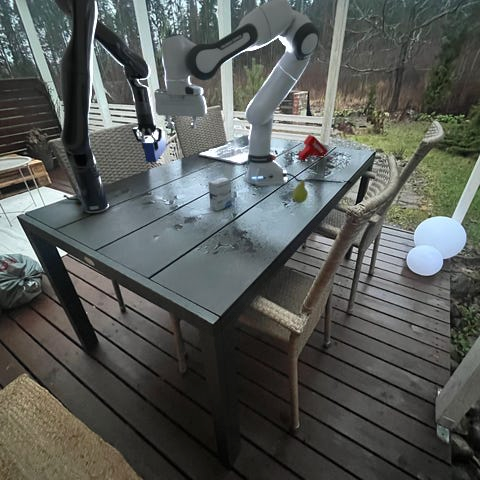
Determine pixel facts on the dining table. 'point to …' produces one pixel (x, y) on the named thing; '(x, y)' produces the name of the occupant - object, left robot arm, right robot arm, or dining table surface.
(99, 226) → the dining table surface
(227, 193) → the ink box
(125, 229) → the dining table surface
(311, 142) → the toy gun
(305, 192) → the fruit
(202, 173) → the dining table surface
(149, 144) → the bar
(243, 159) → the relief map
